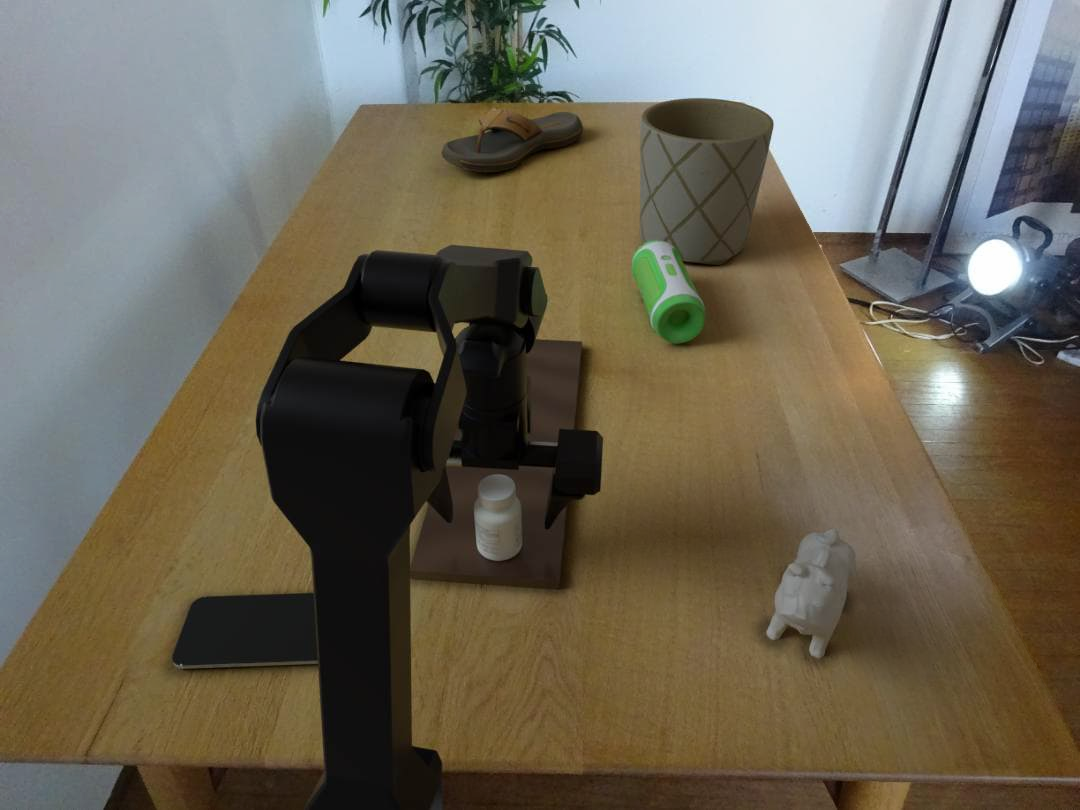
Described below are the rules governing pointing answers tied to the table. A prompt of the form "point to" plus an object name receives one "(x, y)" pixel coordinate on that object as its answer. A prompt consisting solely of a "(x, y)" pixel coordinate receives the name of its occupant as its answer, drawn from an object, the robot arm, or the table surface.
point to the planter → (701, 175)
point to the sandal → (511, 139)
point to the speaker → (668, 292)
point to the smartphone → (248, 631)
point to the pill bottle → (498, 518)
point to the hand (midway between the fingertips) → (498, 522)
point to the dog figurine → (814, 589)
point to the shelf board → (539, 559)
